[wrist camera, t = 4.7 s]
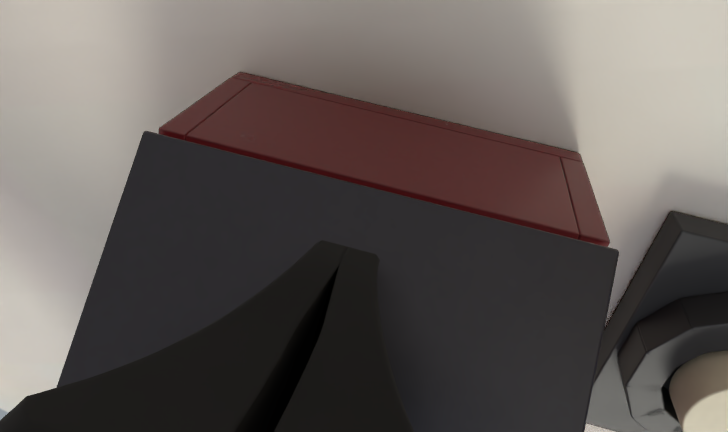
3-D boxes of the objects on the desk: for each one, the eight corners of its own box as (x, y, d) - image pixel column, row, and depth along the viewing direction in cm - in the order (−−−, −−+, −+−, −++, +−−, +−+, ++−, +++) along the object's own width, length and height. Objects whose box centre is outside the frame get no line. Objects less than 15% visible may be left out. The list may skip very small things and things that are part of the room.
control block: (724, 438, 24) (751, 501, 22) (567, 394, 25) (576, 451, 22) (874, 259, 19) (933, 316, 17) (670, 209, 20) (696, 257, 17)
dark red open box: (467, 418, 27) (462, 535, 22) (224, 349, 28) (167, 447, 23) (581, 152, 19) (611, 242, 14) (239, 70, 20) (157, 127, 15)
